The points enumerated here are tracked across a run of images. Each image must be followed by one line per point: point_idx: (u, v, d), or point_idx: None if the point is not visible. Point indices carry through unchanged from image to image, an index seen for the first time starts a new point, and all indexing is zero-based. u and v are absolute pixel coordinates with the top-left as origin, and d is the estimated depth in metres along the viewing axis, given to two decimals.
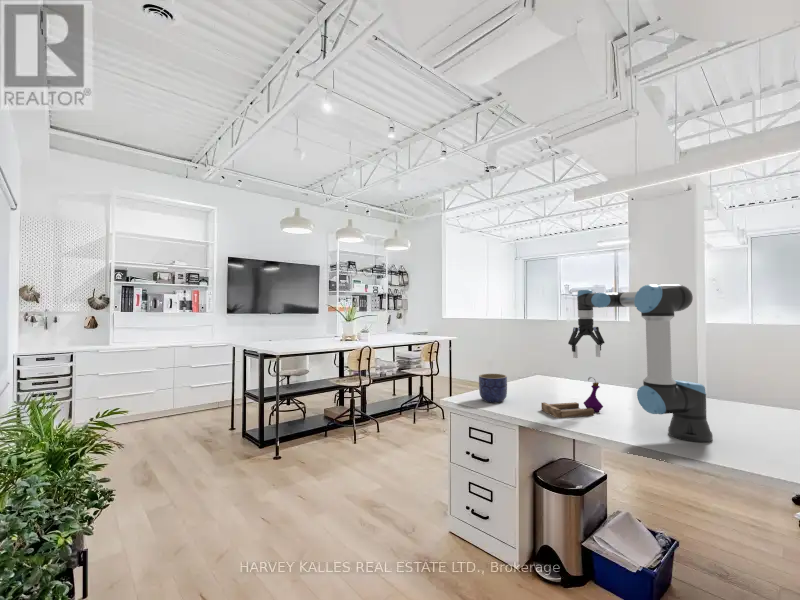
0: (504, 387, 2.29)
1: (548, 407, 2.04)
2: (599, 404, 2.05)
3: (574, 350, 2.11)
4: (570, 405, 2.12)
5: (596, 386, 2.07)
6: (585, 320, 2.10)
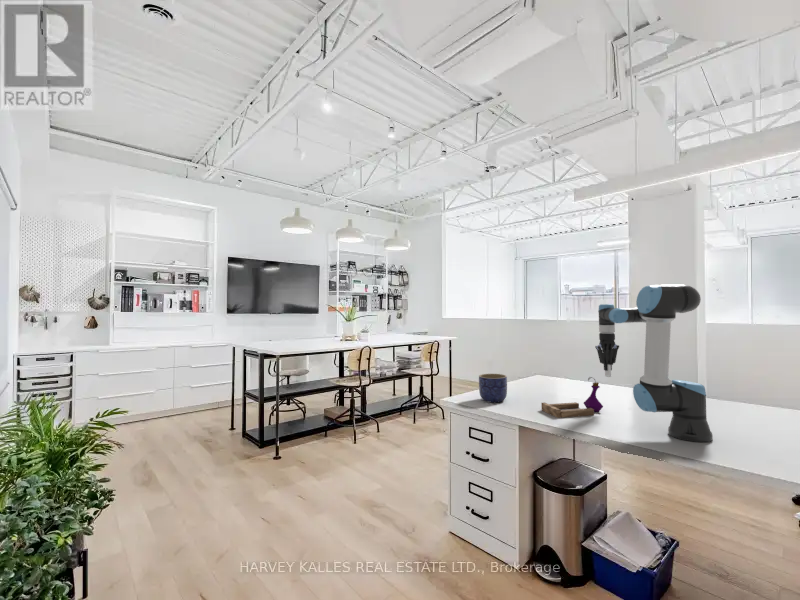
0: (504, 387, 2.29)
1: (548, 407, 2.04)
2: (599, 404, 2.05)
3: (606, 369, 2.09)
4: (570, 405, 2.12)
5: (596, 386, 2.07)
6: (607, 335, 2.07)
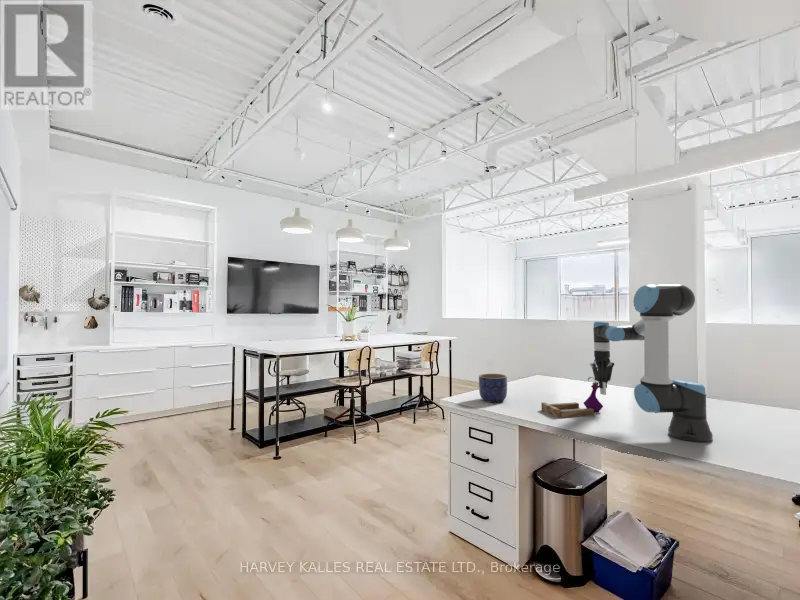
0: (504, 387, 2.29)
1: (548, 407, 2.04)
2: (599, 404, 2.05)
3: (601, 387, 2.09)
4: (570, 405, 2.12)
5: (596, 386, 2.07)
6: (602, 353, 2.06)
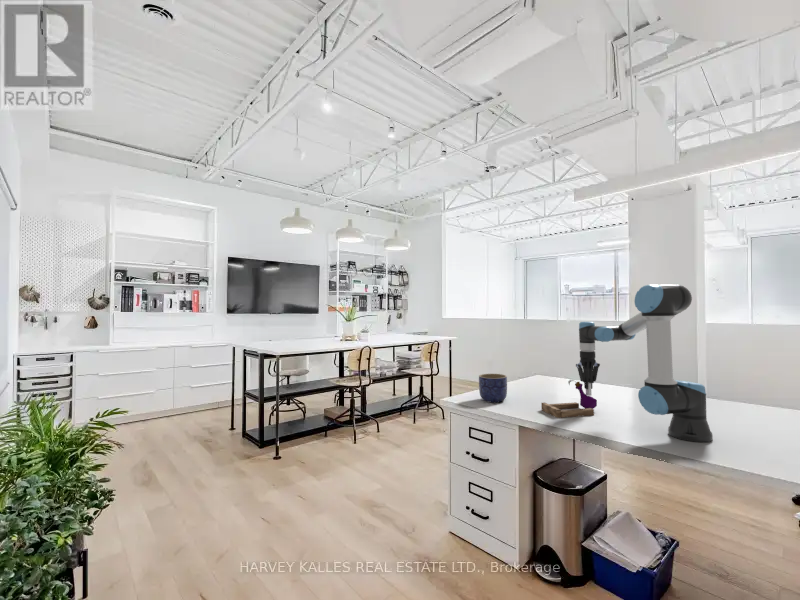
0: (504, 387, 2.29)
1: (548, 407, 2.04)
2: (592, 400, 2.05)
3: (587, 387, 2.07)
4: (570, 405, 2.12)
5: (579, 386, 2.08)
6: (587, 353, 2.05)
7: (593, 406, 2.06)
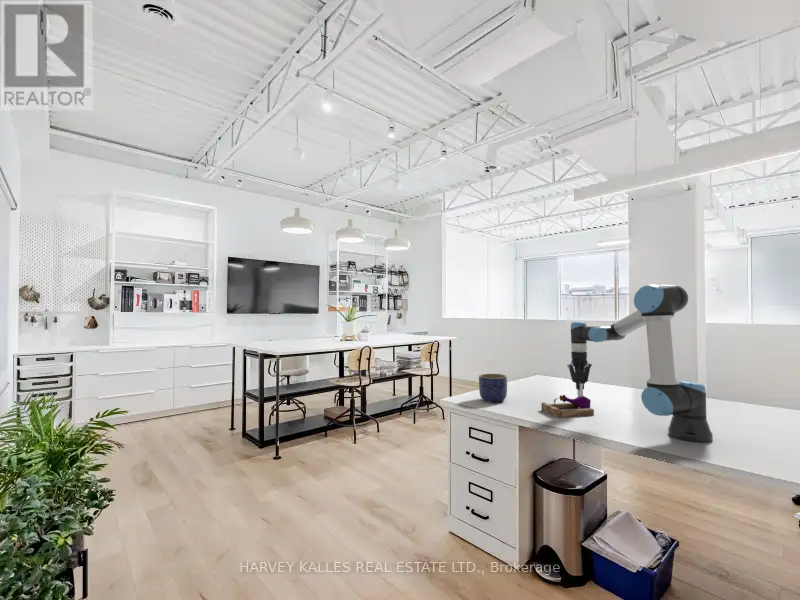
0: (504, 387, 2.29)
1: (548, 407, 2.04)
2: (583, 399, 2.06)
3: (578, 388, 2.06)
4: (570, 405, 2.12)
5: (564, 399, 2.08)
6: (578, 354, 2.04)
7: (588, 403, 2.06)
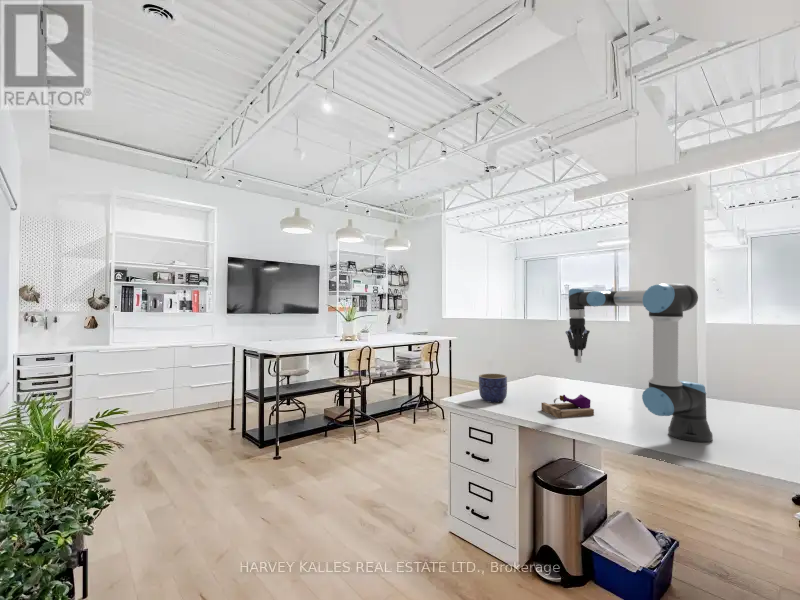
0: (504, 387, 2.29)
1: (548, 407, 2.04)
2: (583, 399, 2.06)
3: (576, 354, 2.06)
4: (570, 405, 2.12)
5: (564, 399, 2.08)
6: (576, 320, 2.04)
7: (588, 403, 2.06)
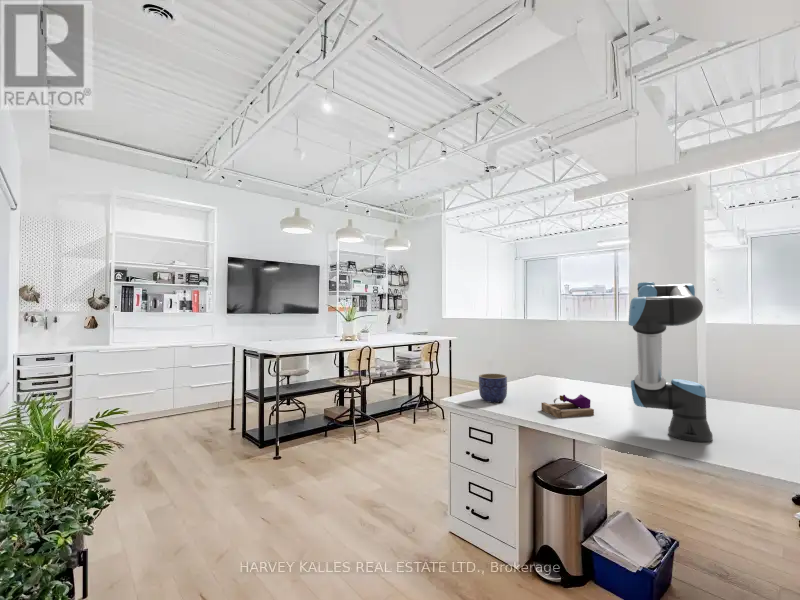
0: (504, 387, 2.29)
1: (548, 407, 2.04)
2: (583, 399, 2.06)
3: None
4: (570, 405, 2.12)
5: (564, 399, 2.08)
6: None
7: (588, 403, 2.06)
